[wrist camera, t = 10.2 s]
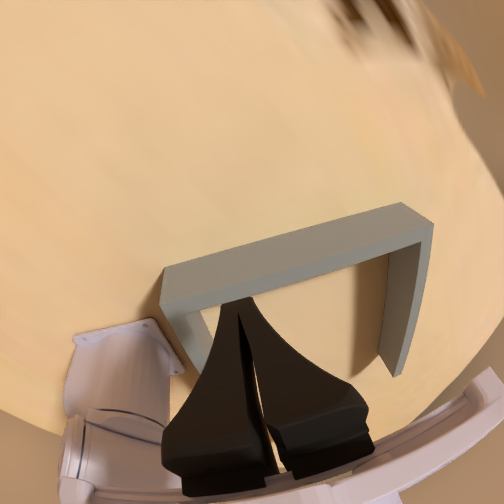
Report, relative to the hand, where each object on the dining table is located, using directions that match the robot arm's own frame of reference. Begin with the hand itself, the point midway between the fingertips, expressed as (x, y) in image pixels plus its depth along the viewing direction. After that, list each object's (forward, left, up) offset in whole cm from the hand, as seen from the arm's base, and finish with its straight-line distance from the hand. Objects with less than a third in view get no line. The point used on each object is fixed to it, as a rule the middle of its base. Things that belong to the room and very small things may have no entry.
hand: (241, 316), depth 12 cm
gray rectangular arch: (+5, -12, -9) cm, 16 cm away
